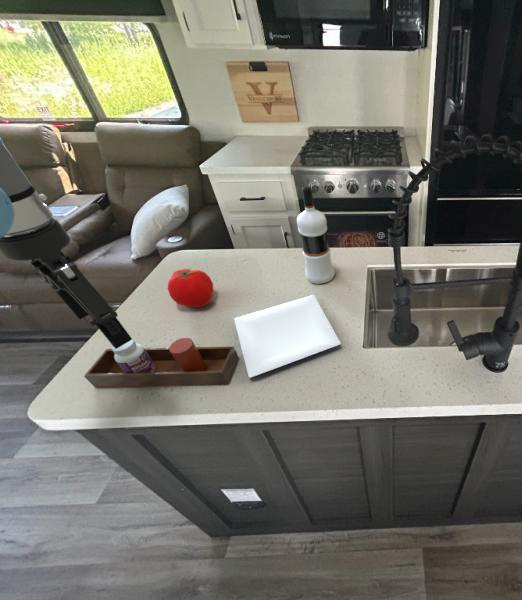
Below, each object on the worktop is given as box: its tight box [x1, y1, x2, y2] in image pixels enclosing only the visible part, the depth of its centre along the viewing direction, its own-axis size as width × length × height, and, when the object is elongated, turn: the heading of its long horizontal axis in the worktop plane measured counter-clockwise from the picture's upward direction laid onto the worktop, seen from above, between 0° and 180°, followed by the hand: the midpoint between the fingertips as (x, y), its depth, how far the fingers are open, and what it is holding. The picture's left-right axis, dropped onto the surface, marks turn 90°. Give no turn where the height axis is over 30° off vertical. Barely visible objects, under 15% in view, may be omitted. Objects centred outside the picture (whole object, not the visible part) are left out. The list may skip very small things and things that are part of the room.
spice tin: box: [168, 337, 207, 372], centre depth 74 cm, size 5×5×9 cm
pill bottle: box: [111, 338, 156, 373], centre depth 74 cm, size 5×5×10 cm
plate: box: [233, 294, 341, 379], centre depth 87 cm, size 22×22×2 cm
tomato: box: [167, 267, 214, 308], centre depth 94 cm, size 11×13×10 cm
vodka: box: [296, 185, 335, 285], centre depth 98 cm, size 9×9×30 cm
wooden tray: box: [84, 345, 240, 389], centre depth 76 cm, size 29×8×4 cm, turn 93°
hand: (104, 328), depth 61 cm, fingers open, 13 cm apart
